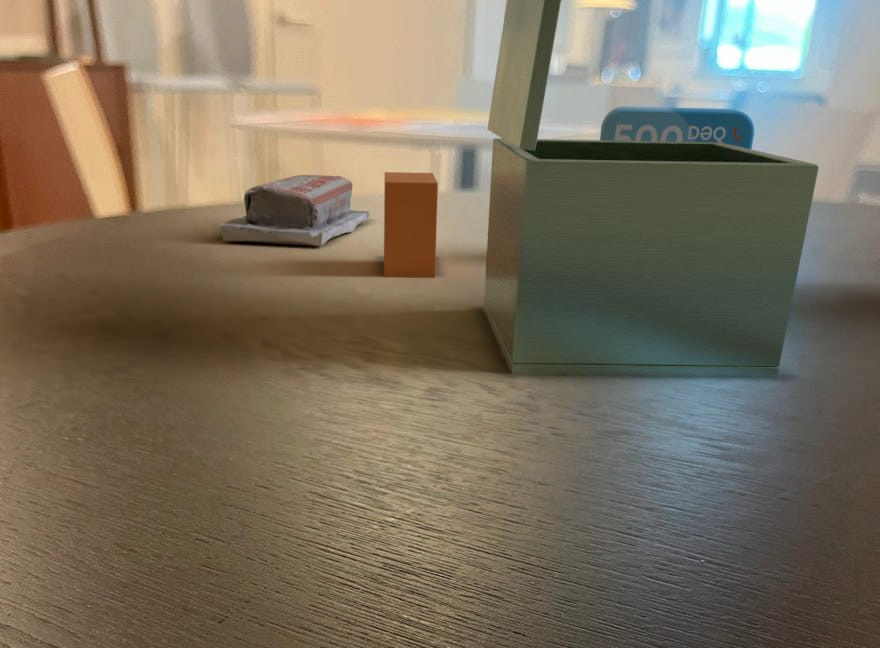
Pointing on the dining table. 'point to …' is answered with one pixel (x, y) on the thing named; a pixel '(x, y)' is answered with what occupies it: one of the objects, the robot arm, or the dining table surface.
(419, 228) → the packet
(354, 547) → the dining table surface
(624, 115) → the data package
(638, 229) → the bin
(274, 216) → the packaged product
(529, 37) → the bin lid
